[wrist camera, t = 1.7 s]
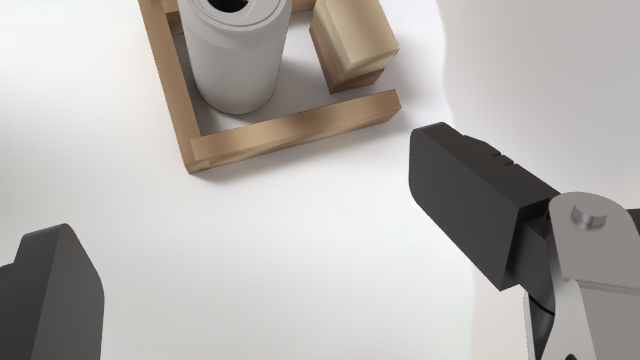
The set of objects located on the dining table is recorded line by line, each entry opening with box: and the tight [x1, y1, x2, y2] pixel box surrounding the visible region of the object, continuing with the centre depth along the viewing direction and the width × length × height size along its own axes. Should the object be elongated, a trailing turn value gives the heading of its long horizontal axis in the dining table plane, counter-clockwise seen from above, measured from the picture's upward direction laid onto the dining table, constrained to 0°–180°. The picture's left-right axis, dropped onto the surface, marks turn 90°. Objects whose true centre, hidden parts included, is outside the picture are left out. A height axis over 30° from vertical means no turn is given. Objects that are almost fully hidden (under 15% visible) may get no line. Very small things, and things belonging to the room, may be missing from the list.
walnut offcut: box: [309, 16, 384, 94], centre depth 35 cm, size 4×6×3 cm, turn 18°
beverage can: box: [177, 0, 292, 114], centre depth 28 cm, size 6×6×12 cm
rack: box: [138, 0, 401, 174], centre depth 33 cm, size 17×13×3 cm
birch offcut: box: [313, 0, 400, 81], centre depth 32 cm, size 4×6×3 cm, turn 22°
